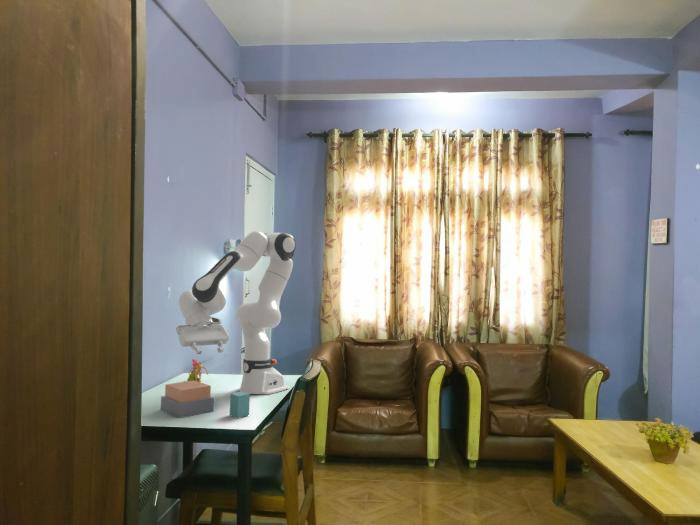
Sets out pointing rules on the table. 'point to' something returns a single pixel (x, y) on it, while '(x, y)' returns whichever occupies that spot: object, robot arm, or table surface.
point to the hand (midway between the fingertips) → (210, 352)
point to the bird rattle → (192, 375)
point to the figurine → (198, 371)
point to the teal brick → (239, 404)
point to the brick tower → (187, 399)
